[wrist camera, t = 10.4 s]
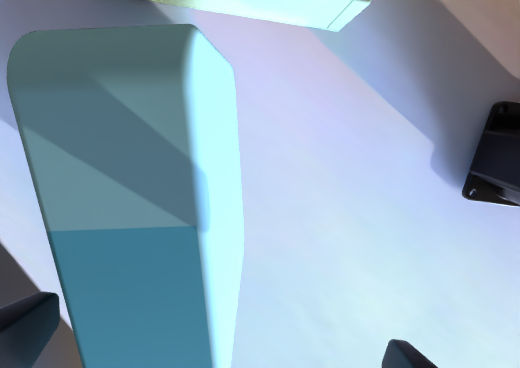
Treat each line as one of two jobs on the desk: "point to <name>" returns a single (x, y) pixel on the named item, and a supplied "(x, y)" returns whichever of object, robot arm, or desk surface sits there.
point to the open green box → (284, 10)
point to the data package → (136, 188)
